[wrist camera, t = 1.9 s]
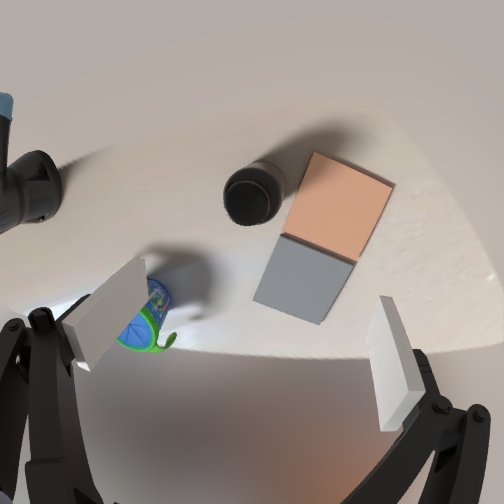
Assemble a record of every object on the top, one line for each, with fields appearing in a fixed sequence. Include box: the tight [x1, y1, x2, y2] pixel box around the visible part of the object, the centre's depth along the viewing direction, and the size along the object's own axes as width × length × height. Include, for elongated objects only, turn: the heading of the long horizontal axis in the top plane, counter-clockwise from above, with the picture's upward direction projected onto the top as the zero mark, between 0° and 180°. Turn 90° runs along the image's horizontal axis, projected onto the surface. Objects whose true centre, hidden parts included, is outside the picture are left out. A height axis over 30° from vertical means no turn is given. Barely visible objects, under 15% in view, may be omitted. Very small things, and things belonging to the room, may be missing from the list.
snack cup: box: [110, 275, 177, 353], centre depth 47 cm, size 16×10×10 cm
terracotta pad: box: [282, 152, 392, 261], centre depth 39 cm, size 12×12×1 cm
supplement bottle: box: [223, 162, 286, 226], centre depth 35 cm, size 7×7×12 cm
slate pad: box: [252, 235, 353, 325], centre depth 45 cm, size 12×12×1 cm
